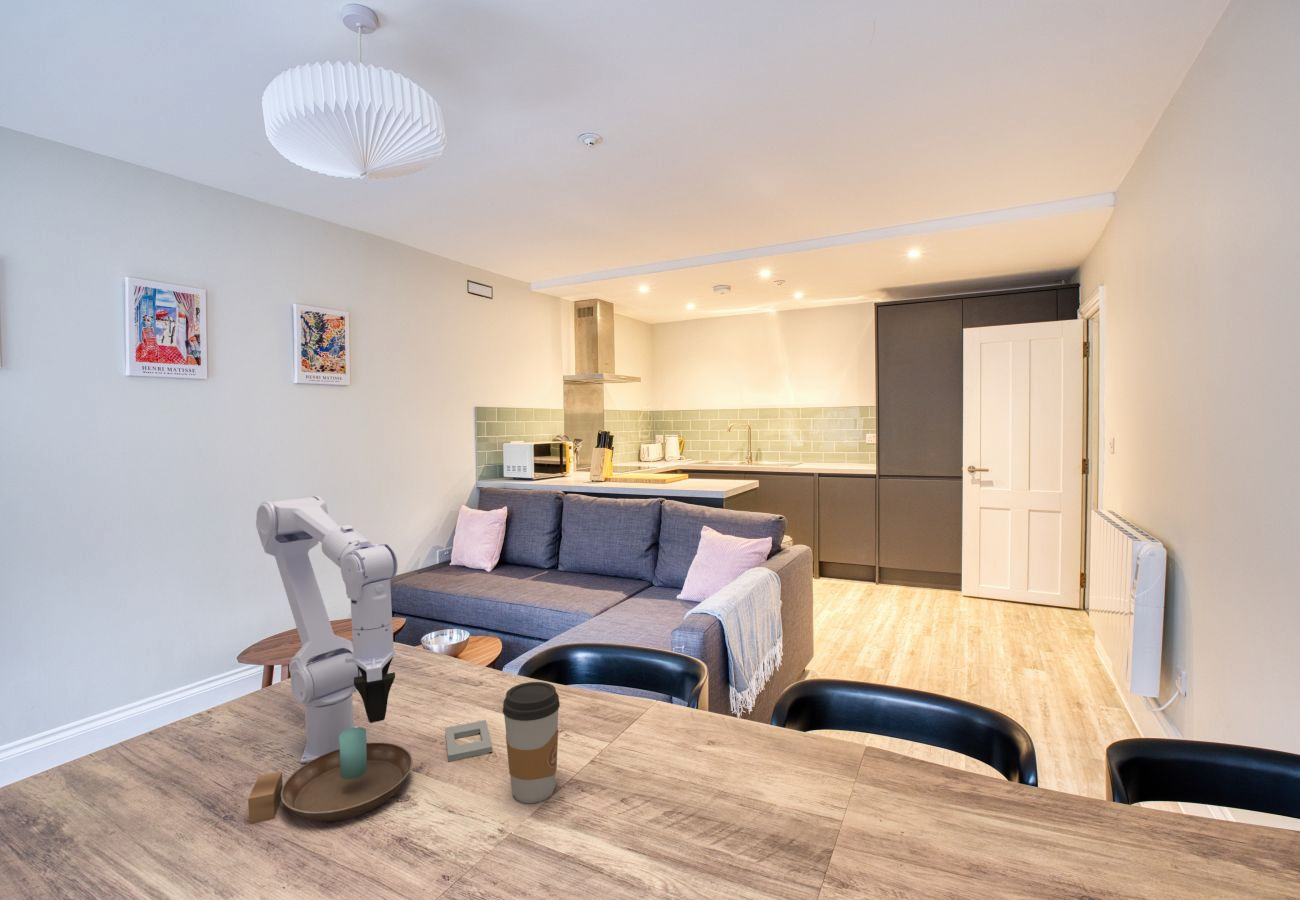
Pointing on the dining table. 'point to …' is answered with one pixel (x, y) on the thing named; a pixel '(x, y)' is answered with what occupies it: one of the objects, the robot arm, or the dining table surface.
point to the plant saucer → (346, 784)
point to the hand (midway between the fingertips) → (376, 710)
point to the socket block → (468, 748)
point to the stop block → (265, 797)
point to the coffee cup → (532, 739)
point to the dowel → (353, 753)
